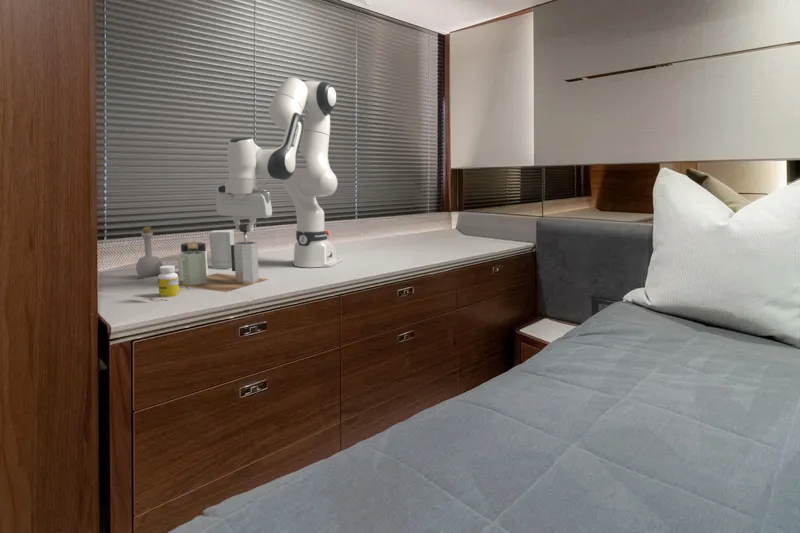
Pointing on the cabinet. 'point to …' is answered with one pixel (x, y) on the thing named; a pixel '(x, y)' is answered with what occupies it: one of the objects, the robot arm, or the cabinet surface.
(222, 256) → the skincare box
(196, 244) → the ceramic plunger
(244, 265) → the steel press
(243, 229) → the steel plunger
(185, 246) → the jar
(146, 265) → the potion bottle
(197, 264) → the pale green octagonal mug
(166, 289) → the supplement bottle
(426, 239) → the cabinet surface
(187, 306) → the cabinet surface
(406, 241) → the cabinet surface
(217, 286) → the serving board
